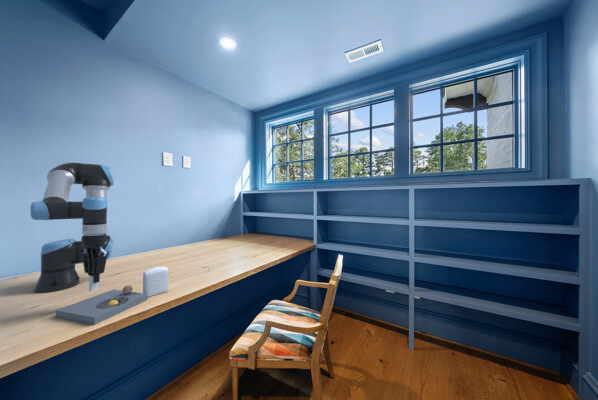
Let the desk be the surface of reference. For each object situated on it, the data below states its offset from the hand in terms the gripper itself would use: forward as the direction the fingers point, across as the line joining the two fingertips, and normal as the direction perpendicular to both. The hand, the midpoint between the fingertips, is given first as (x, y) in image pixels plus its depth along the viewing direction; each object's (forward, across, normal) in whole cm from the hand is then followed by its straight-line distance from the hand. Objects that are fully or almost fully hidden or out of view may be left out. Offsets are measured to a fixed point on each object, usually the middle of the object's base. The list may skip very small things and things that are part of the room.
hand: (94, 289), depth 91 cm
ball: (+4, +12, -1) cm, 13 cm away
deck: (+6, +8, -1) cm, 10 cm away
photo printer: (+6, +16, +15) cm, 23 cm away
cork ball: (+2, +9, +7) cm, 12 cm away
